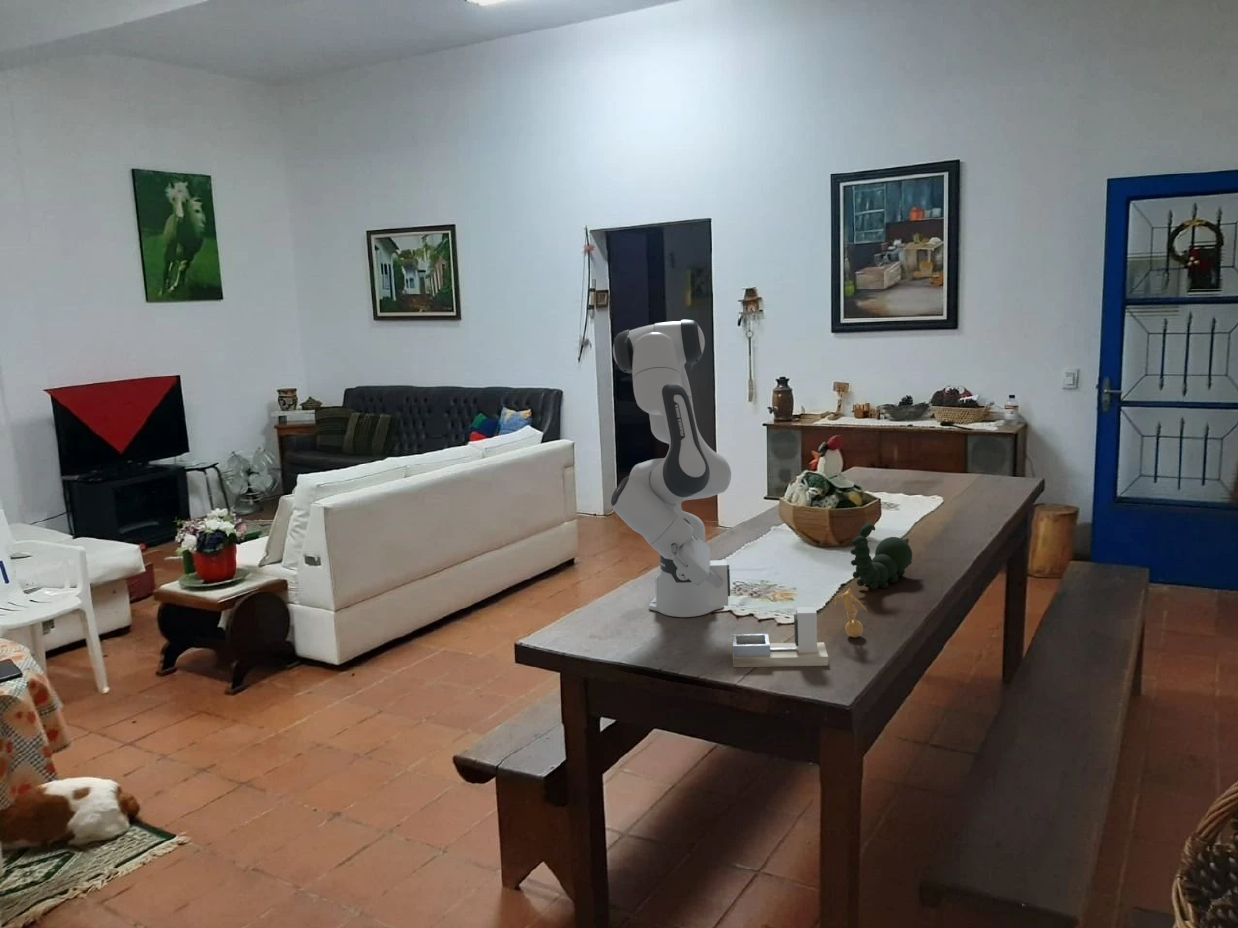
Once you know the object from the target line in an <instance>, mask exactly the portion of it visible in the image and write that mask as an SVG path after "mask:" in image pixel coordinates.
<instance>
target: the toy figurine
mask: <svg viewBox="0 0 1238 928" xmlns="http://www.w3.org/2000/svg"><path fill="white" fill-rule="evenodd" d="M875 530H876V527H875V525H874V524H873V523H865V524H864V525H863V526H862V527H861V528H860V531H859V535H858V536H856V537H855V538H854V539H853V540H851V542H850V543H851V545H852V546H854V548H853V549H851V550H850V554H851V555H852V556H855V557H854V559H852V560H850V564H851V565H852V566H853V567H854V566H855V571H853V573H852V577H853V578H854V579H857V581H856V584H857V586H859V587H863V586H865V585H867V586H869V587H870V588H871V589H873V590H876V589H877V588H878V587H880V588H882V589H883V590H884V589H887V588H888V586H889V583H888V581H889V582H890V583H896V582H898V580H899V577H902V576H904V575H905V573H906V571H905V570H906V569H907V568H908V567H909V566H910V565H912V561H913V552H912V548H911V547H910V545H909V542H910V541H909V540H910V539H909V538H904V539H902V538H901V537H897V536H889V537H886V538H884V539H882V540H881V541H880V542H879V543H878V544H877V546H876V548H875V551H874V557H873V558H872V556H871V555H870V552H871V550H870V547H869V546H868V545H869V541H868V537H870V535H871V533H872V531H875ZM887 580H888V581H887Z"/></svg>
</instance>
